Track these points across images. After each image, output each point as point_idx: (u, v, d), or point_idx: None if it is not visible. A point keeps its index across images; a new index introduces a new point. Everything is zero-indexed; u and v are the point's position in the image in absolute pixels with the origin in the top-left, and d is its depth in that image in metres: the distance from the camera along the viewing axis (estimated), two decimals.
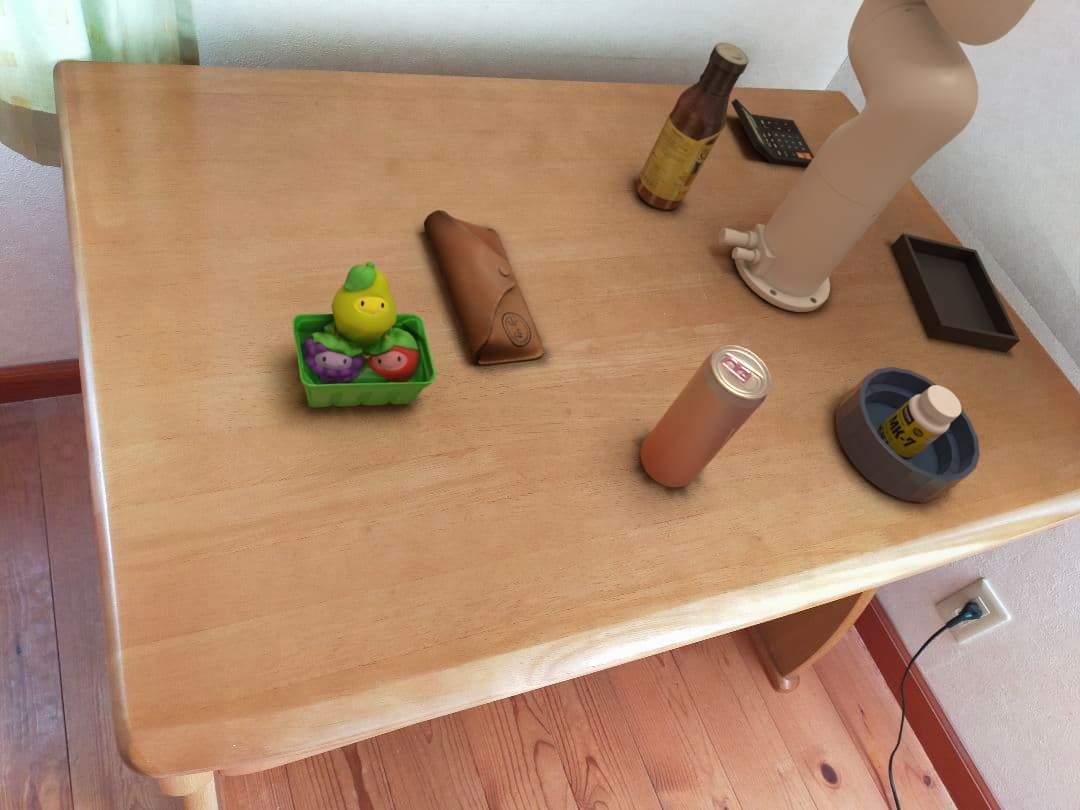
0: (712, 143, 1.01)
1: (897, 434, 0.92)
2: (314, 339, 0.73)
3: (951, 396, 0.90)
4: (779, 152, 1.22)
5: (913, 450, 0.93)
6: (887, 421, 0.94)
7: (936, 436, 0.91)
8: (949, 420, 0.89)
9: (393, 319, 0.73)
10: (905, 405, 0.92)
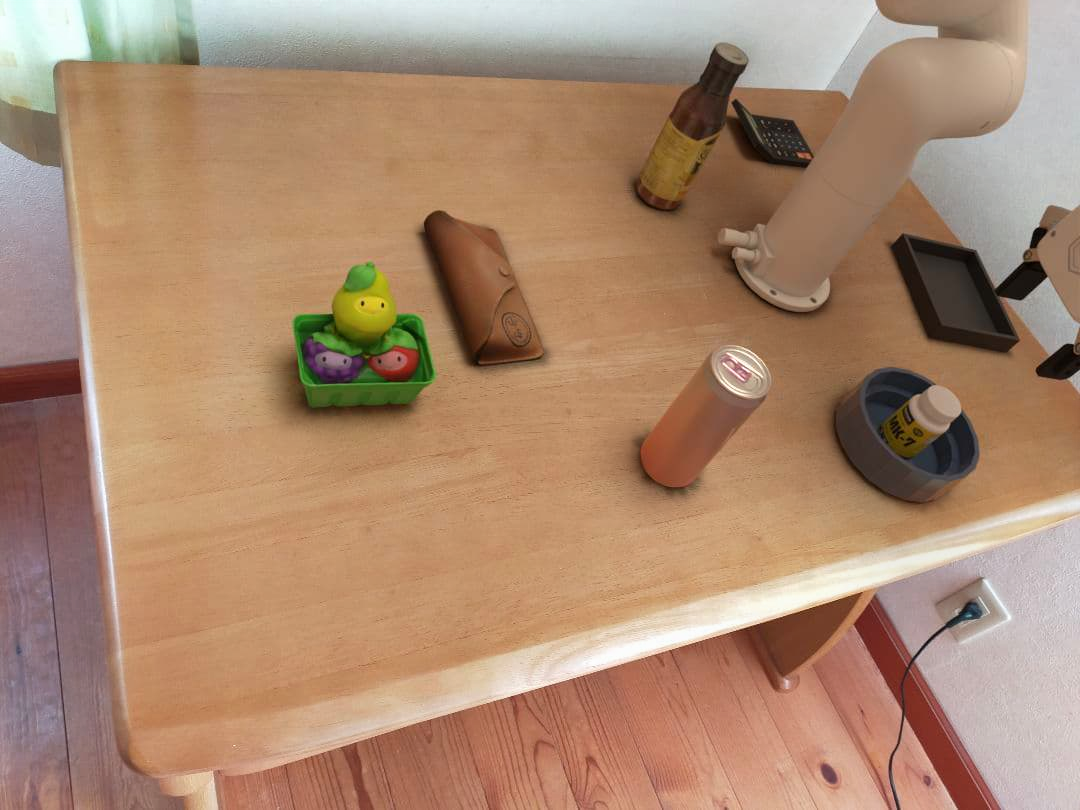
0: (712, 143, 1.01)
1: (897, 434, 0.92)
2: (314, 339, 0.73)
3: (951, 396, 0.90)
4: (779, 152, 1.22)
5: (913, 450, 0.93)
6: (887, 421, 0.94)
7: (936, 436, 0.91)
8: (949, 420, 0.89)
9: (394, 319, 0.73)
10: (905, 405, 0.92)
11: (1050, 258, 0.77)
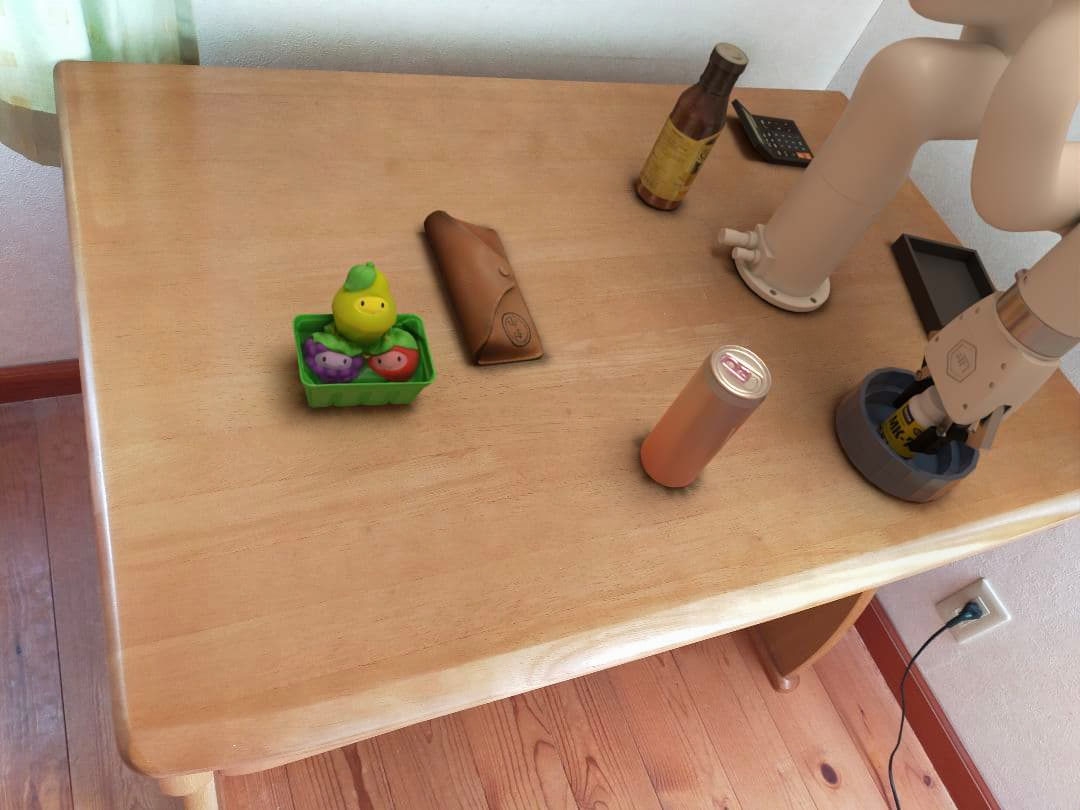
0: (712, 143, 1.01)
1: (897, 434, 0.92)
2: (314, 339, 0.73)
3: None
4: (779, 152, 1.22)
5: None
6: (887, 421, 0.94)
7: None
8: None
9: (393, 319, 0.73)
10: (905, 405, 0.92)
11: (933, 361, 0.88)
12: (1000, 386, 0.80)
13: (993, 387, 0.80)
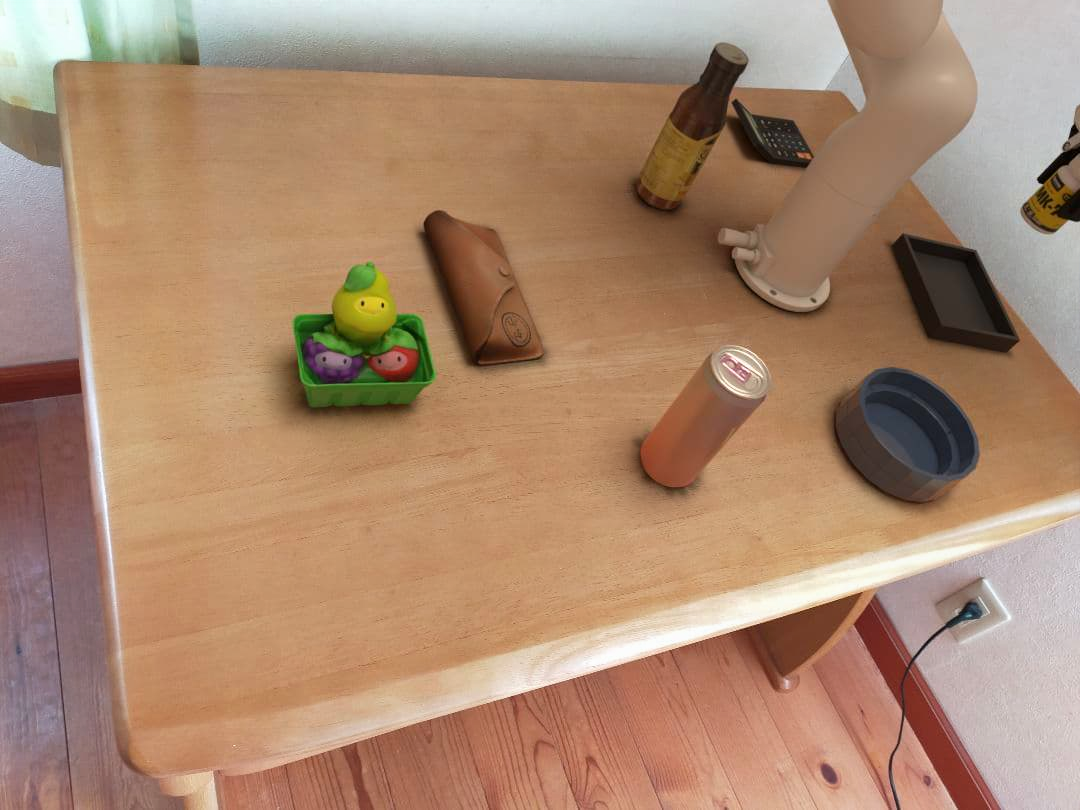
0: (712, 143, 1.01)
1: (1044, 203, 0.98)
2: (314, 339, 0.73)
3: None
4: (779, 152, 1.22)
5: (1059, 219, 0.98)
6: (1033, 195, 1.00)
7: None
8: None
9: (394, 319, 0.73)
10: (1053, 175, 0.97)
11: None
12: None
13: None
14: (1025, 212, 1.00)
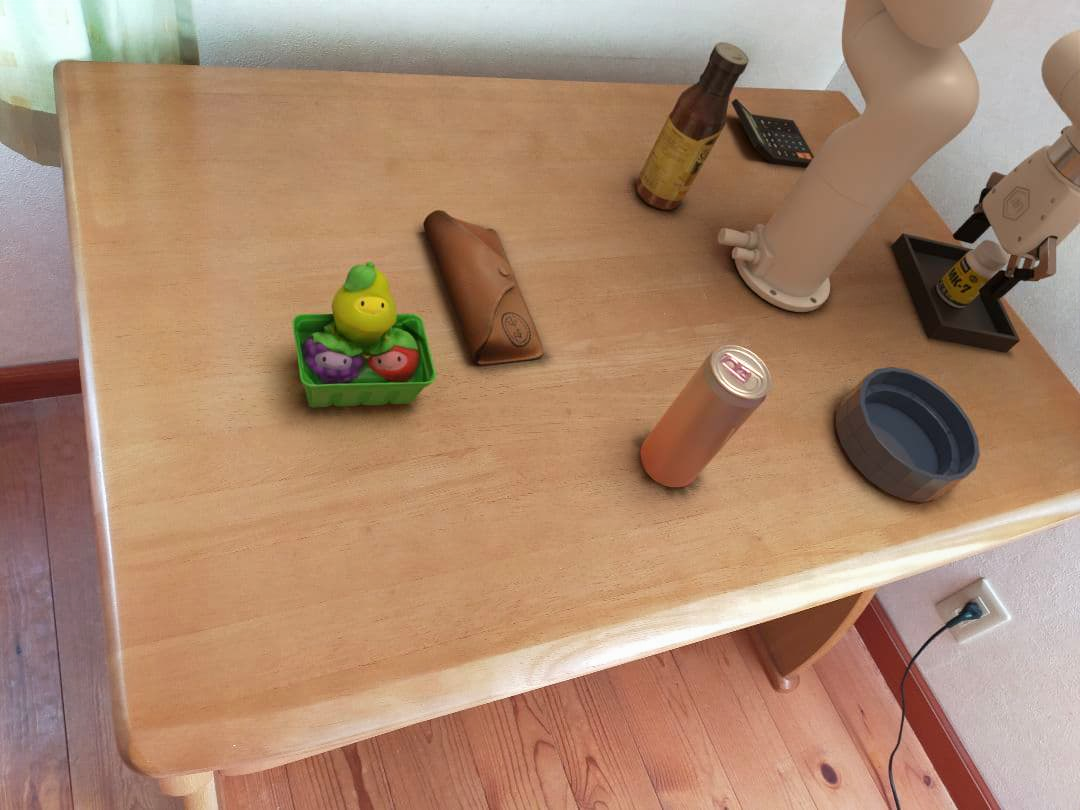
0: (712, 143, 1.01)
1: (955, 282, 1.13)
2: (314, 339, 0.73)
3: (1001, 248, 1.10)
4: (779, 152, 1.22)
5: (968, 296, 1.13)
6: (946, 274, 1.14)
7: None
8: (999, 266, 1.09)
9: (394, 319, 0.73)
10: (962, 258, 1.12)
11: (991, 208, 1.07)
12: (1050, 217, 0.99)
13: (1044, 219, 0.99)
14: (939, 289, 1.15)
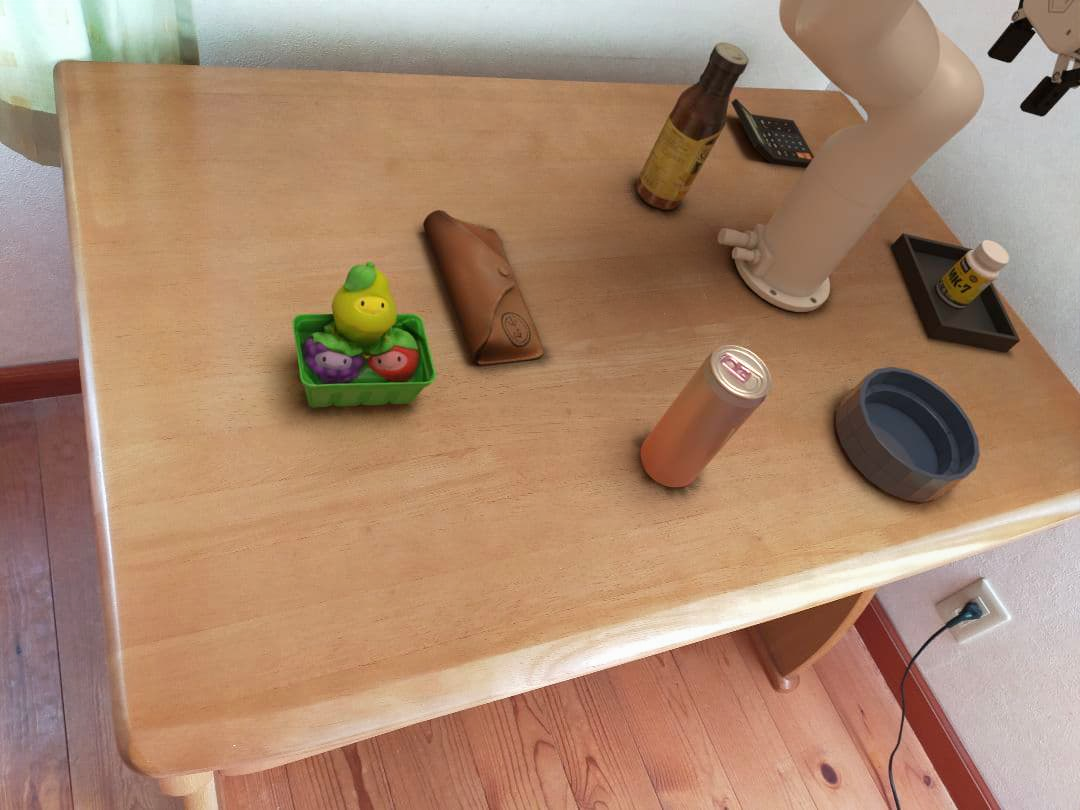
0: (712, 143, 1.01)
1: (955, 282, 1.13)
2: (314, 339, 0.73)
3: (1001, 248, 1.10)
4: (779, 152, 1.22)
5: (968, 296, 1.13)
6: (946, 274, 1.14)
7: (988, 282, 1.11)
8: (999, 266, 1.09)
9: (394, 319, 0.73)
10: (962, 258, 1.12)
11: (1033, 7, 0.92)
12: None
13: None
14: (939, 289, 1.15)
